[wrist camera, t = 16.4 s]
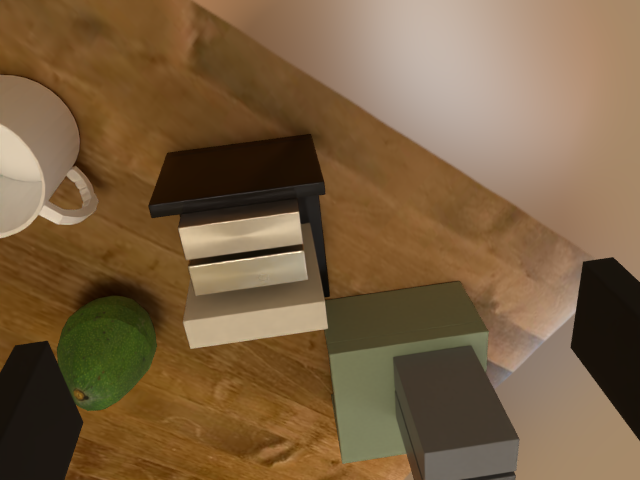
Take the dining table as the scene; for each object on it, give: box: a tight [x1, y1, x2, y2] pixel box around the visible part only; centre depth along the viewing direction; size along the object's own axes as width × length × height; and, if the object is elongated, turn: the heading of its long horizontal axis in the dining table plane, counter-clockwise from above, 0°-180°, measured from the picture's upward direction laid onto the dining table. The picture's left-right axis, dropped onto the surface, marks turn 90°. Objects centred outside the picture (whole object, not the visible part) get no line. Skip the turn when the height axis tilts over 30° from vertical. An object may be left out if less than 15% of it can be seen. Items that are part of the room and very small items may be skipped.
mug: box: [0, 75, 99, 238], centre depth 42 cm, size 12×9×9 cm
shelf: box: [324, 281, 519, 480], centre depth 52 cm, size 14×14×18 cm
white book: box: [183, 223, 328, 349], centre depth 46 cm, size 10×2×12 cm, turn 96°
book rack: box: [148, 134, 330, 297], centre depth 46 cm, size 12×16×12 cm
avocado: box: [57, 296, 157, 411], centre depth 49 cm, size 8×8×12 cm
